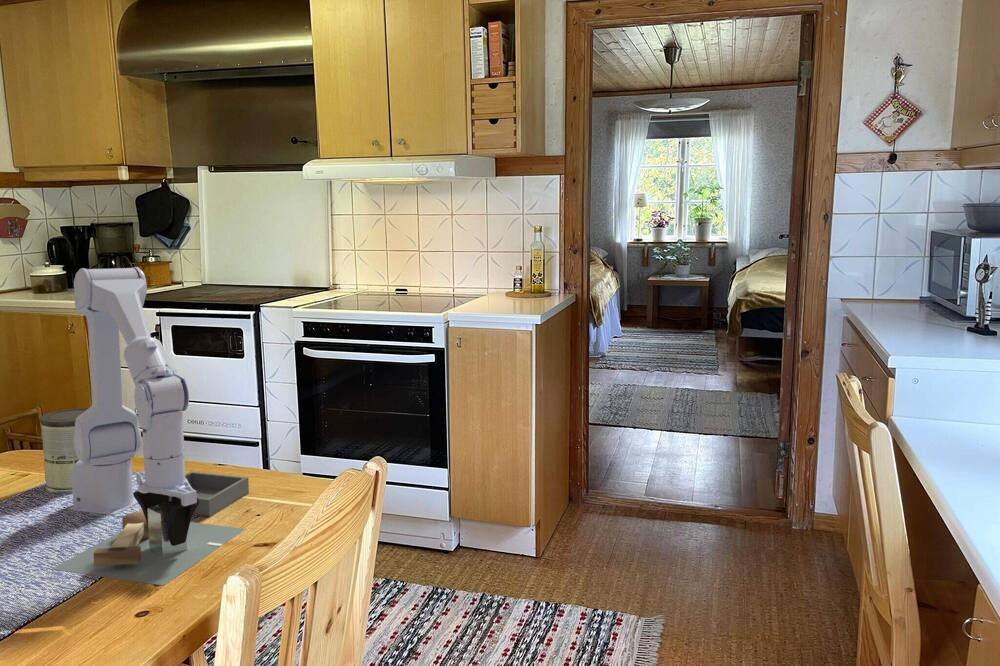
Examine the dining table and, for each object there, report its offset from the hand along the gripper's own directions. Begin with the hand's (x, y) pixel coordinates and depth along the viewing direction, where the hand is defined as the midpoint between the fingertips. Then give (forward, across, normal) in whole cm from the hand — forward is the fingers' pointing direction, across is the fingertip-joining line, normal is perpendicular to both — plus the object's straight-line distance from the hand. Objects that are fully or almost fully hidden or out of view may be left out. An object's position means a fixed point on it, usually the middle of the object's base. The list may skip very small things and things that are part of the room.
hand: (167, 538), depth 119 cm
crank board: (+2, -2, -1) cm, 4 cm away
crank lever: (+2, -5, -3) cm, 6 cm away
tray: (+2, -16, +14) cm, 22 cm away
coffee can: (+3, -43, +4) cm, 43 cm away
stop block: (+2, 0, 0) cm, 2 cm away
